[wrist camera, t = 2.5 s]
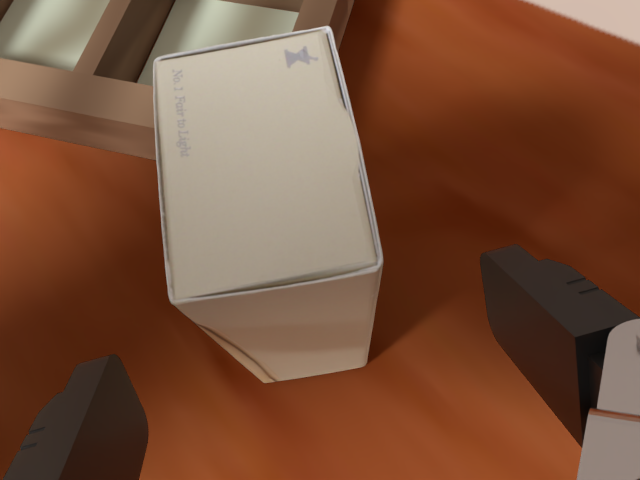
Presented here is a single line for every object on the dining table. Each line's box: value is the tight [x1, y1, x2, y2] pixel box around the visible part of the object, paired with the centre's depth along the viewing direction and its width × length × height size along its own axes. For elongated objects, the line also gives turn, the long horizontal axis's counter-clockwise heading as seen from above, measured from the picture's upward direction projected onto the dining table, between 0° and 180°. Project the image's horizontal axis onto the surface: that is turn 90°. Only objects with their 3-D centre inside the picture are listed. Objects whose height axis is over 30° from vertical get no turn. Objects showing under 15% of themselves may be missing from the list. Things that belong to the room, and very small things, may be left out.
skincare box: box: [153, 26, 384, 383], centre depth 17 cm, size 6×4×12 cm
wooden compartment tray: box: [0, 0, 354, 160], centre depth 27 cm, size 20×12×3 cm, turn 75°
